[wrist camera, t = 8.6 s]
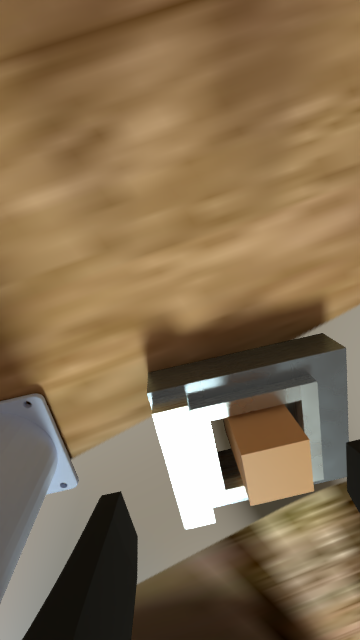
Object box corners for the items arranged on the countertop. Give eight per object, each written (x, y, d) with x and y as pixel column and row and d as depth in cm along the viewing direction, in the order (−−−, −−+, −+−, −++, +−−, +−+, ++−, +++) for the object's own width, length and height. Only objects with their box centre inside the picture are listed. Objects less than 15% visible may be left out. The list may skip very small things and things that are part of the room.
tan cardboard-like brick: (225, 430, 21) (250, 505, 15) (217, 390, 20) (241, 455, 14) (271, 420, 21) (313, 491, 15) (265, 379, 20) (309, 439, 14)
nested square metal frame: (179, 484, 22) (183, 535, 18) (148, 372, 19) (146, 407, 15) (329, 449, 22) (363, 493, 19) (322, 333, 19) (362, 358, 15)
